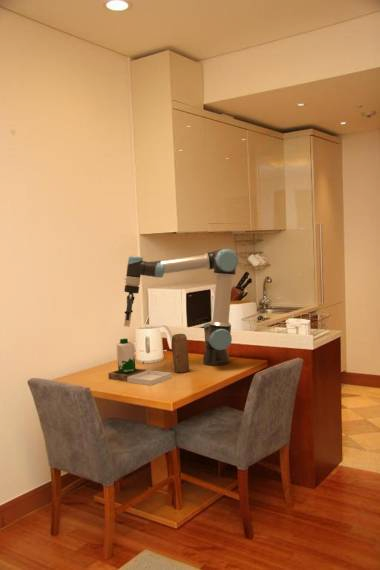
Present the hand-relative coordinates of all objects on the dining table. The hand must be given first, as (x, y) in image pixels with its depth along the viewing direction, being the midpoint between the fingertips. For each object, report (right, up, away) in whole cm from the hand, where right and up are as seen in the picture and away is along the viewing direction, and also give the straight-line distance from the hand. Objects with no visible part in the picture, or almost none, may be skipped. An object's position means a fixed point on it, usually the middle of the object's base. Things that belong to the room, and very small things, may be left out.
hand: (127, 325), depth 286 cm
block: (+28, -26, +8) cm, 39 cm away
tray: (+12, -28, -7) cm, 31 cm away
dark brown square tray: (0, -28, +2) cm, 28 cm away
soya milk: (0, -28, +2) cm, 28 cm away
